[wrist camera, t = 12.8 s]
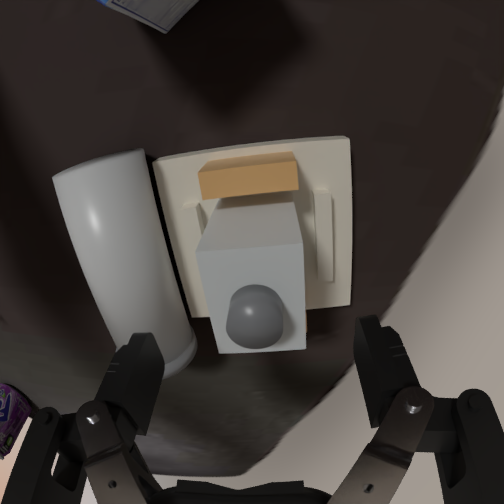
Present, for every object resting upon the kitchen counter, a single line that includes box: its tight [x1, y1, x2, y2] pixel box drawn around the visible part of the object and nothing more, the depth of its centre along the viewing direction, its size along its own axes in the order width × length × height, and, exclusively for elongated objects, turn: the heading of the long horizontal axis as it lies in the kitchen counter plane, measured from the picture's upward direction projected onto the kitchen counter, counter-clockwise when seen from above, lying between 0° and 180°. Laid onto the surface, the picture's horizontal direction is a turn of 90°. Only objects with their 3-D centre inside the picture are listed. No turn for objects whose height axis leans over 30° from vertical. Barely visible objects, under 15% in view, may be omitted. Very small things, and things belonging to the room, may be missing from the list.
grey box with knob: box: [195, 192, 306, 353], centre depth 17 cm, size 6×4×9 cm
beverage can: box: [0, 383, 31, 460], centre depth 32 cm, size 7×7×12 cm
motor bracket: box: [52, 136, 352, 380], centre depth 20 cm, size 15×18×7 cm
